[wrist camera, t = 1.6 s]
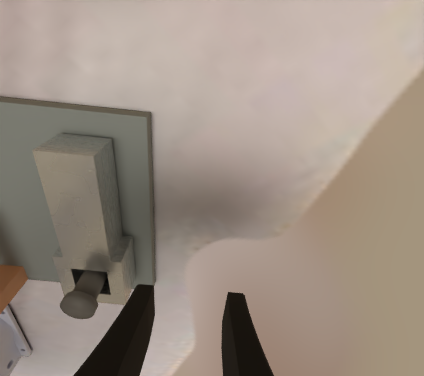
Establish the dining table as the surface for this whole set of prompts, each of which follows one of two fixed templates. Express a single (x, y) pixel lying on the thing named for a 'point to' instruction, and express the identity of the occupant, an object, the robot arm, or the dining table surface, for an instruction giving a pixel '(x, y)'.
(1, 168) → the base
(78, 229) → the latch
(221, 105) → the dining table surface
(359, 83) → the dining table surface
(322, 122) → the dining table surface
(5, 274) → the bracket
